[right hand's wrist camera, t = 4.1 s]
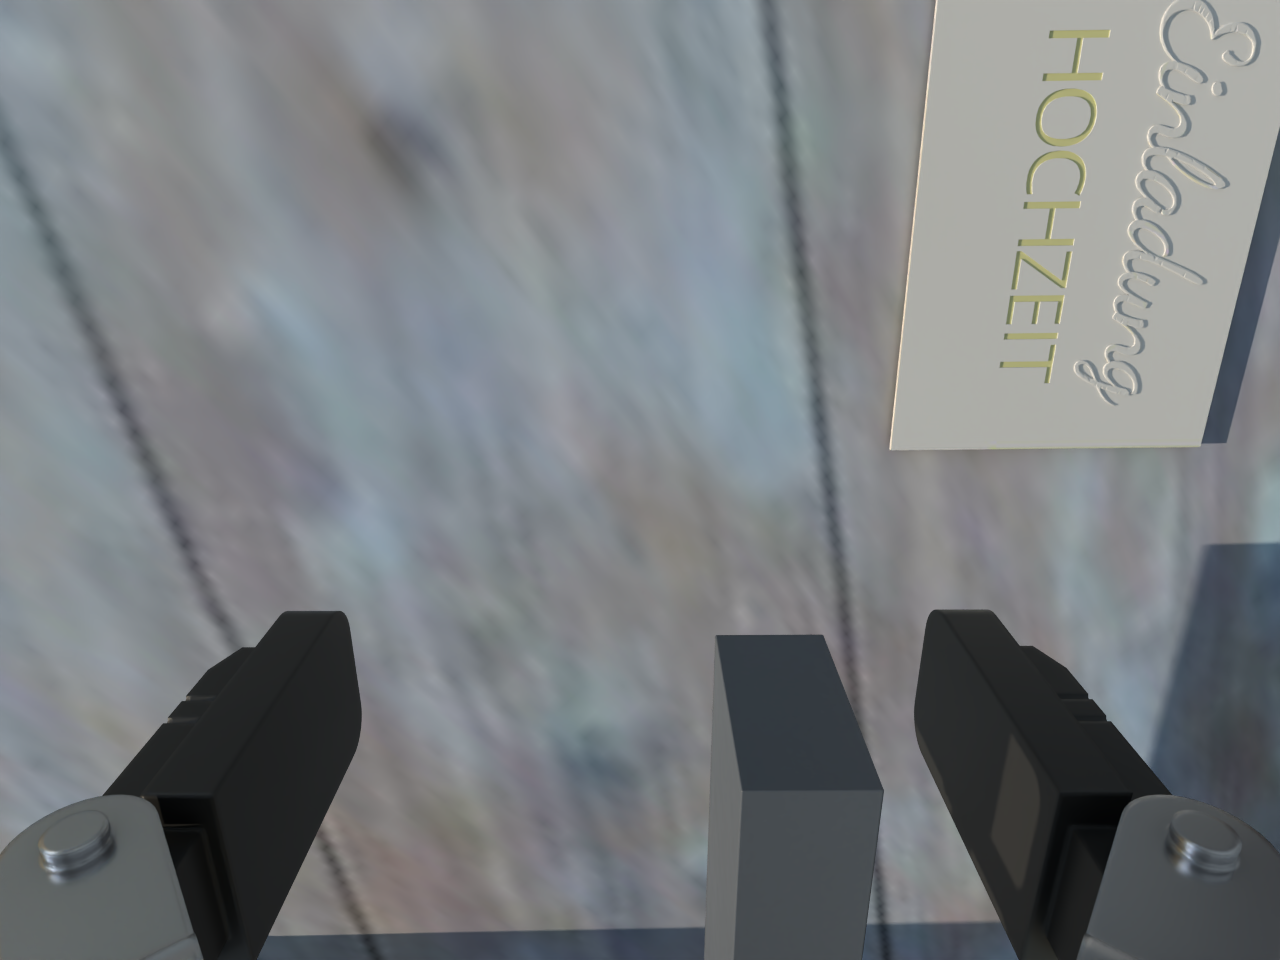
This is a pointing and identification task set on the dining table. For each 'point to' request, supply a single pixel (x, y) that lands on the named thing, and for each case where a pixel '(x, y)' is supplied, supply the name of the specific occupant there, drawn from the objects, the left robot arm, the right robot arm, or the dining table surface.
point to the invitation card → (1082, 219)
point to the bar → (787, 806)
